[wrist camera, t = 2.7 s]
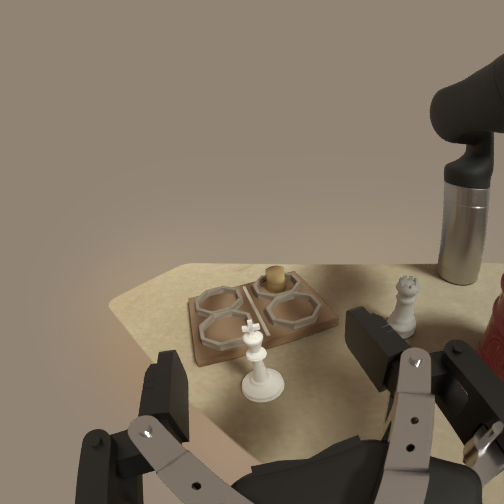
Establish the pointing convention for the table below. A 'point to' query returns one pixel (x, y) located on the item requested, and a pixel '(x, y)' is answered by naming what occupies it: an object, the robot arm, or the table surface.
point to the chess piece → (259, 369)
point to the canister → (494, 338)
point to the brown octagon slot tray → (256, 315)
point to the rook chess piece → (404, 307)
